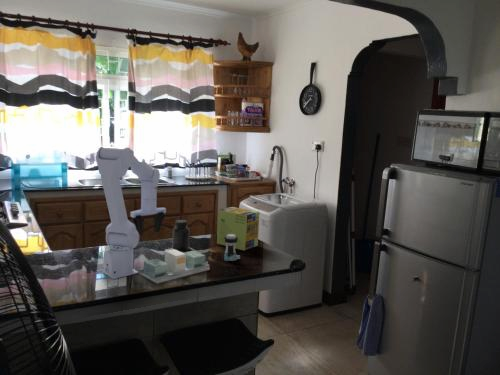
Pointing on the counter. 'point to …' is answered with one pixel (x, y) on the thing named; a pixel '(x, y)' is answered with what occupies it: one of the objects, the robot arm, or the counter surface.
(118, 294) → the counter surface
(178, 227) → the supplement bottle
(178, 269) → the block
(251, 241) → the protein box
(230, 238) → the push button
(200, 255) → the din panel
